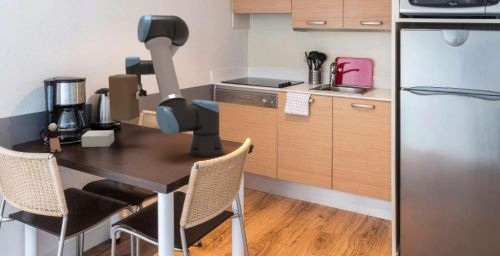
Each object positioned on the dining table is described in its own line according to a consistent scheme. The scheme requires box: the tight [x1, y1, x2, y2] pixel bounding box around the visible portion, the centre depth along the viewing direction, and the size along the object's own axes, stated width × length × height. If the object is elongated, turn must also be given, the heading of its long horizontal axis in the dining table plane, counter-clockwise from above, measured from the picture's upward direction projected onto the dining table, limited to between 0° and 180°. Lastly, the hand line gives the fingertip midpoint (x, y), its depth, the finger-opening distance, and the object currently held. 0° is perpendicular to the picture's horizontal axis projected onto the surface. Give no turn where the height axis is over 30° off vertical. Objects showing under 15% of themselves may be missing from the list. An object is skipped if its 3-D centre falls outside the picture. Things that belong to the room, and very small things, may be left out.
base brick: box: [81, 129, 115, 148], centre depth 212 cm, size 12×12×5 cm
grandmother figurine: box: [43, 122, 64, 153], centre depth 197 cm, size 8×4×13 cm, turn 135°
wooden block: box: [107, 73, 140, 122], centre depth 204 cm, size 10×10×20 cm
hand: (122, 96), depth 200 cm, fingers closed on wooden block, 12 cm apart
